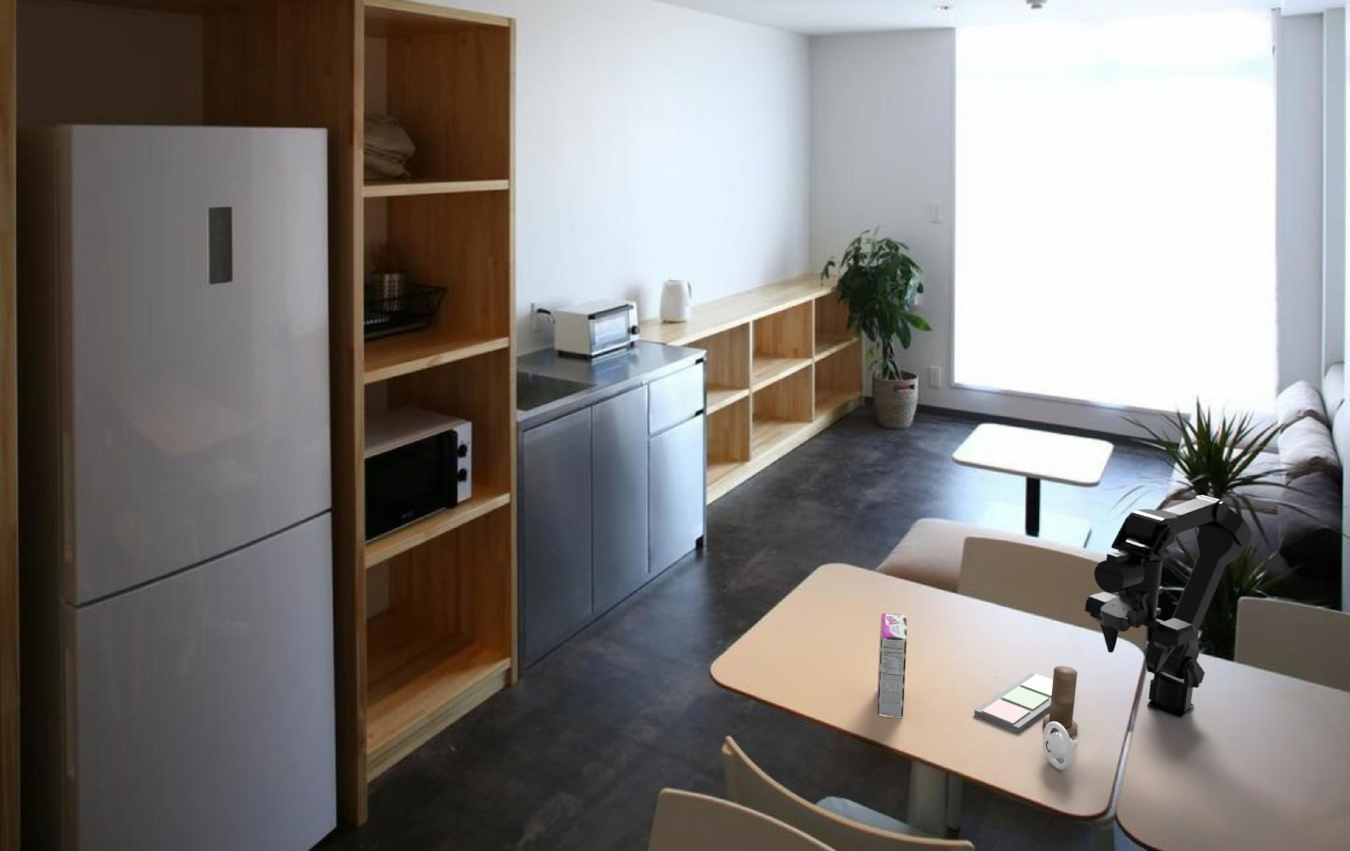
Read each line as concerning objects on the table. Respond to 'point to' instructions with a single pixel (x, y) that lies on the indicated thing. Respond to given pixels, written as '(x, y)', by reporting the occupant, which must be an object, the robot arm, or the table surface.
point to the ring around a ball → (1058, 745)
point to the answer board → (1019, 703)
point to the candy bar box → (892, 664)
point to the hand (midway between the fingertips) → (1133, 661)
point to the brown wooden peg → (1063, 700)
